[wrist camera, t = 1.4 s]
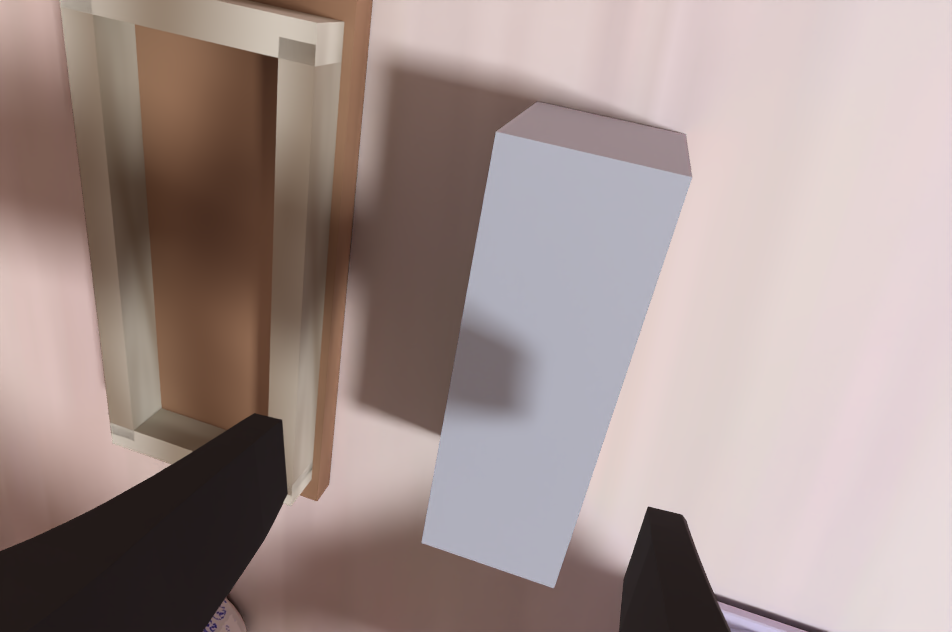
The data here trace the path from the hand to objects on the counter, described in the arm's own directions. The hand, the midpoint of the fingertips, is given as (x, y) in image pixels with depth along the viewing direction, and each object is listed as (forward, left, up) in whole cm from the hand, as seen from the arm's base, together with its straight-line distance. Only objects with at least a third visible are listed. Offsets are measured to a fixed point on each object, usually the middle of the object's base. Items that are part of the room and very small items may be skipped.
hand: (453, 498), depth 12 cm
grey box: (-1, 0, -9) cm, 9 cm away
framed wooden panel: (+10, +1, -9) cm, 13 cm away
